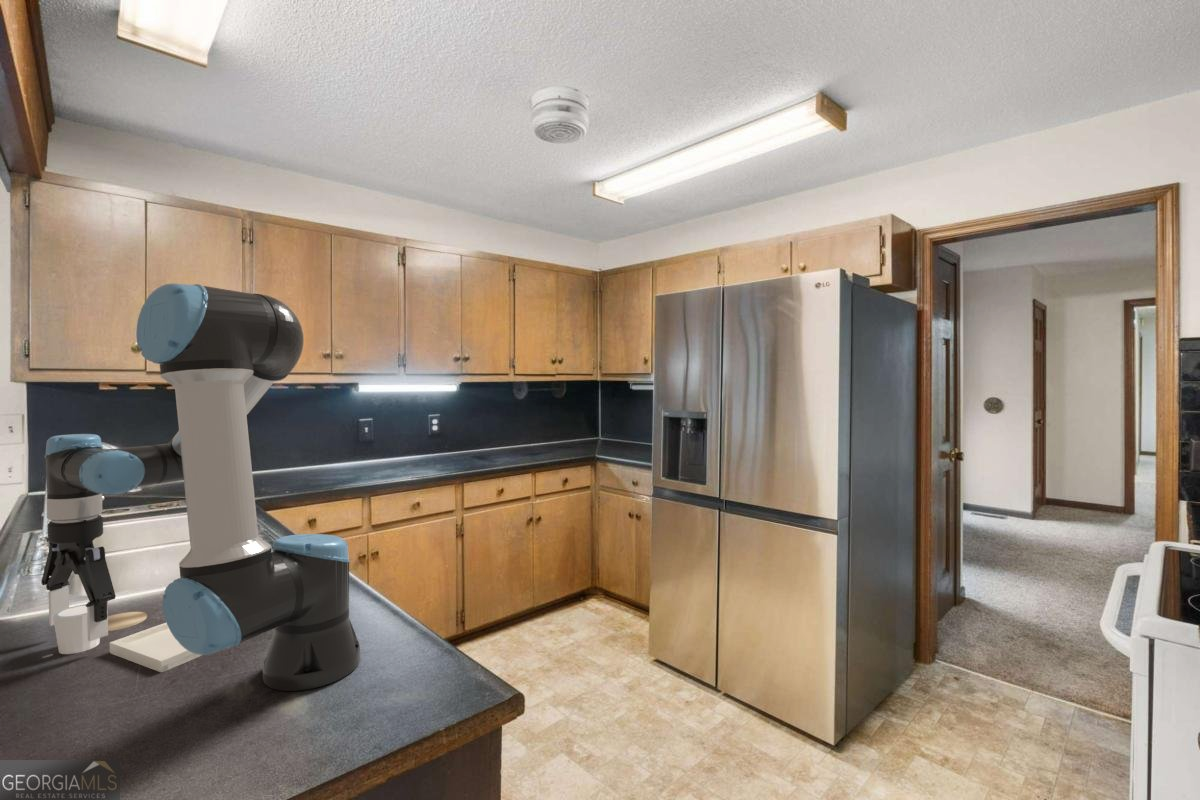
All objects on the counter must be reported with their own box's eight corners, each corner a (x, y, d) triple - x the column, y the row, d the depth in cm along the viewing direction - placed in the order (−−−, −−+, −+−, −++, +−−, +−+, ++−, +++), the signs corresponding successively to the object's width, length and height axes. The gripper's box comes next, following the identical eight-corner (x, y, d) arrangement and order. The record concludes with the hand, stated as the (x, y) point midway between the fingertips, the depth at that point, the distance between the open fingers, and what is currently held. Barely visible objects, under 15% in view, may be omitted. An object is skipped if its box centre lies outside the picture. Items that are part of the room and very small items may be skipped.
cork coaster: (156, 619, 118) (156, 616, 118) (103, 637, 109) (103, 633, 109) (132, 611, 121) (132, 608, 121) (80, 627, 113) (80, 624, 113)
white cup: (100, 635, 110) (99, 599, 109) (107, 645, 105) (106, 609, 105) (51, 647, 104) (50, 610, 104) (57, 659, 100) (56, 621, 100)
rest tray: (232, 642, 107) (232, 632, 107) (161, 672, 96) (161, 661, 96) (181, 626, 113) (181, 617, 113) (109, 653, 102) (109, 642, 102)
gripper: (138, 521, 102) (139, 635, 103) (66, 505, 112) (68, 609, 113) (86, 531, 95) (89, 653, 96) (15, 514, 105) (18, 624, 106)
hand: (78, 630), depth 105 cm, fingers open, 13 cm apart
